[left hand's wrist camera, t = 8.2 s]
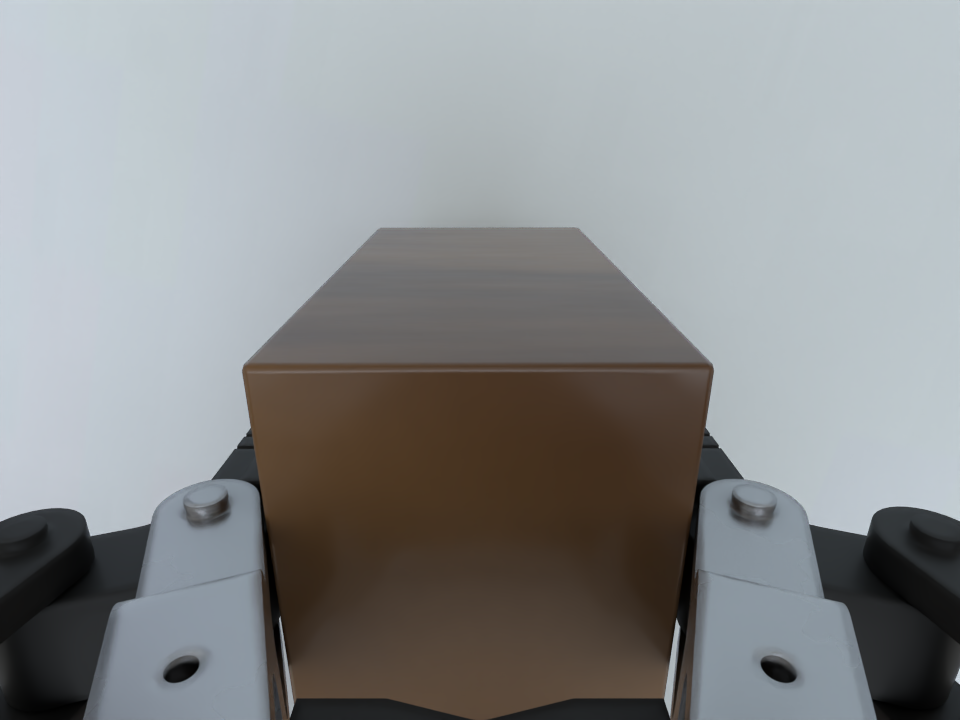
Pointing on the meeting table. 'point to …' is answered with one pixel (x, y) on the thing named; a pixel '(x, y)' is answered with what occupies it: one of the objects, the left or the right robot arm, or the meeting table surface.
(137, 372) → the meeting table surface
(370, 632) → the bar
